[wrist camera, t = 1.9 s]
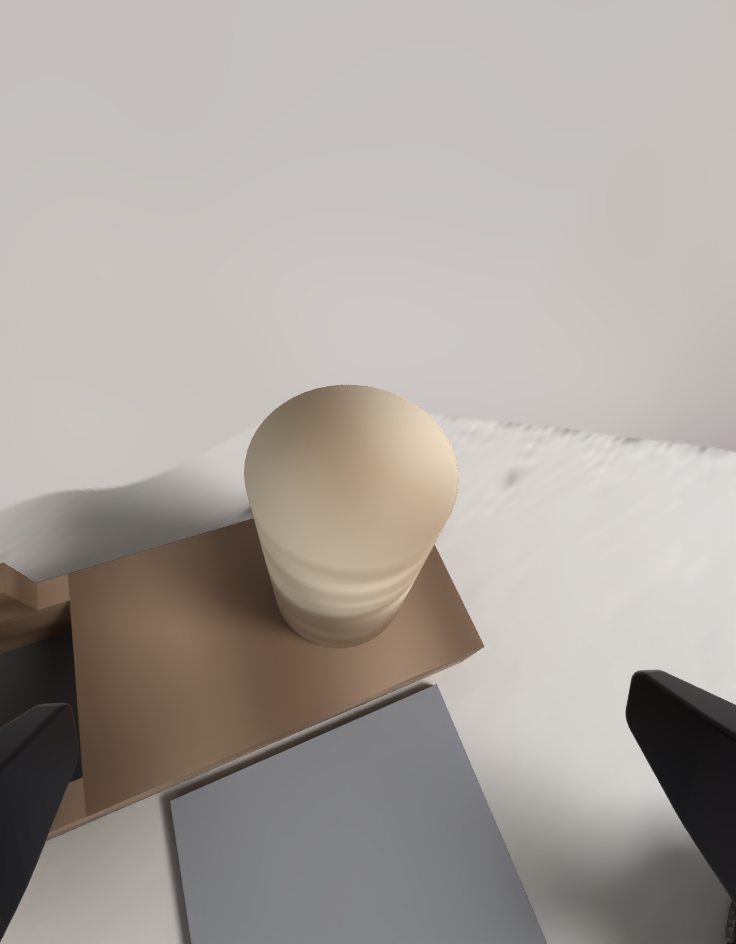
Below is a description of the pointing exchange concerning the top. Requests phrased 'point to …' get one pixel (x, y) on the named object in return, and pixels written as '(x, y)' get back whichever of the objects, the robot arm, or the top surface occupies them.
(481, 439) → the top surface
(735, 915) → the salt shaker
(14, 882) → the robot arm
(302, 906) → the mat
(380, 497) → the birch cylinder
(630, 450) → the top surface
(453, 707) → the top surface
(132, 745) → the wooden track
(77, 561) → the top surface
